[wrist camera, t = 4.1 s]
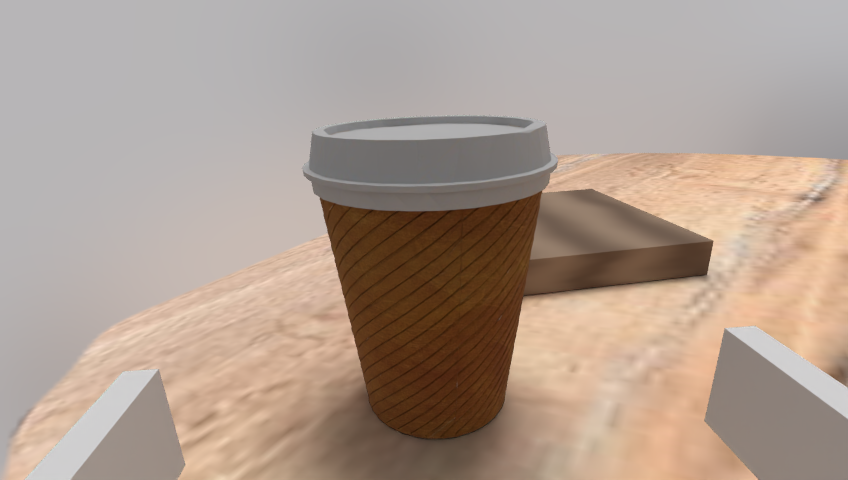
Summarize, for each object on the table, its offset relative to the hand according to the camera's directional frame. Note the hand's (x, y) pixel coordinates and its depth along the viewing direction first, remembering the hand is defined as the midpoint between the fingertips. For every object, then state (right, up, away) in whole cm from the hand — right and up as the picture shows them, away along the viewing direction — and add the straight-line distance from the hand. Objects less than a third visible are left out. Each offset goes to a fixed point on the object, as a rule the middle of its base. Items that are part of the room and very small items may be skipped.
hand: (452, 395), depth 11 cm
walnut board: (+10, +3, +27) cm, 29 cm away
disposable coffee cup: (0, -4, +10) cm, 11 cm away
